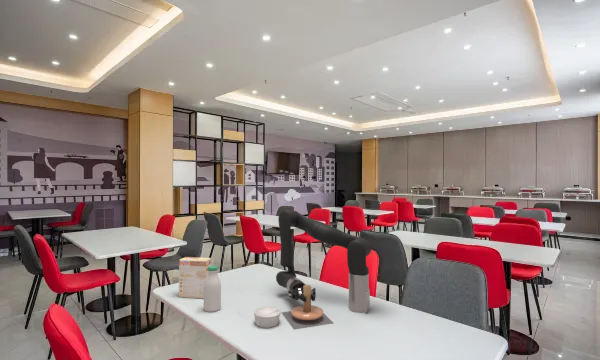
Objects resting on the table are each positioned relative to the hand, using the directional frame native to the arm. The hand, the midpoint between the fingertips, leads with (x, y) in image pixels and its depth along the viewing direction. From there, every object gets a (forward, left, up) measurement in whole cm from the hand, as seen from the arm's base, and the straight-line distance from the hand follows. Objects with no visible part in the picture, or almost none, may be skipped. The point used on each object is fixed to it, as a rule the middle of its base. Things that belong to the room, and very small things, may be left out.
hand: (309, 299), depth 139 cm
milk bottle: (+46, +8, -10) cm, 48 cm away
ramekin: (+15, +10, -10) cm, 21 cm away
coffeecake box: (+66, -2, -10) cm, 67 cm away
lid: (+2, -2, -7) cm, 8 cm away
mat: (+2, -2, -9) cm, 10 cm away
